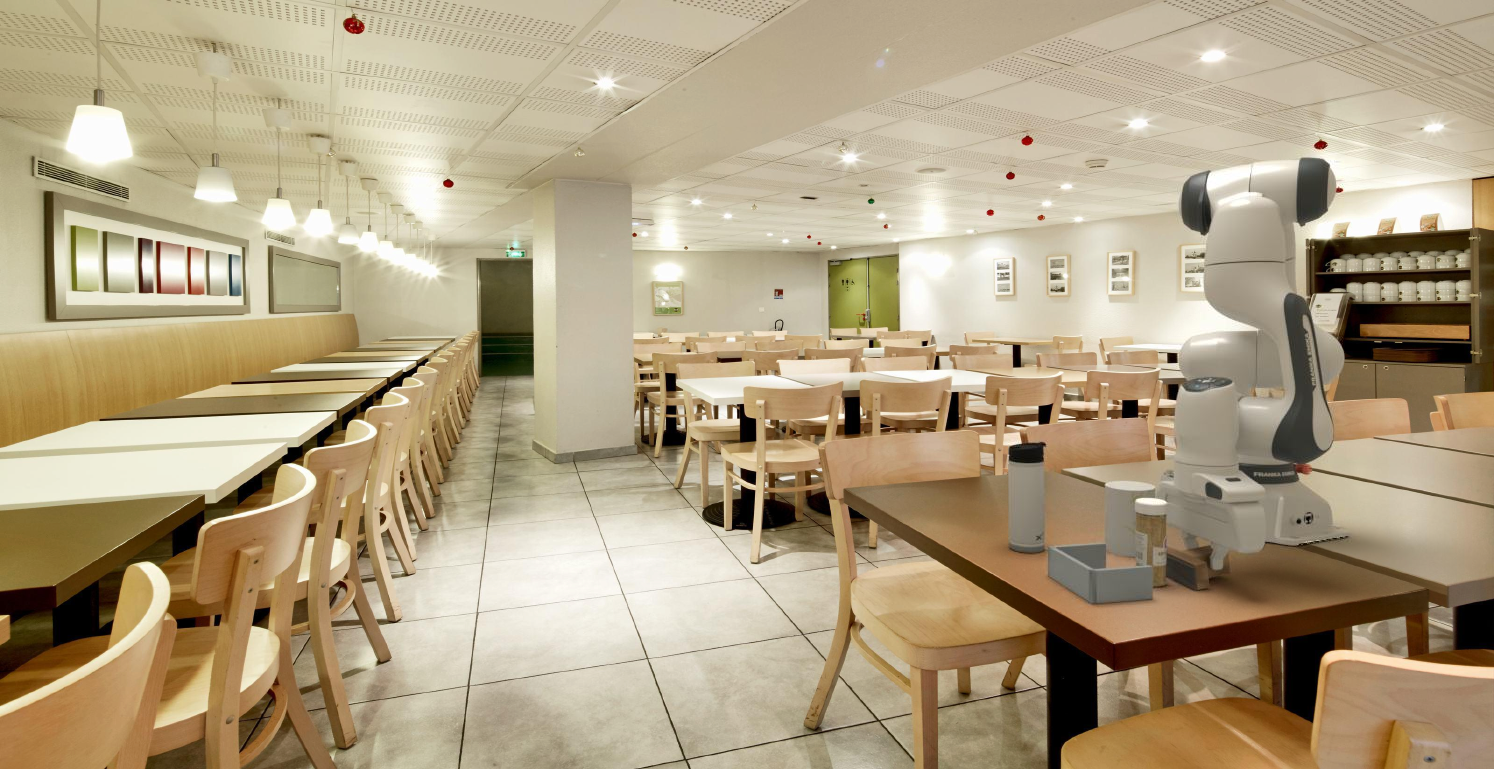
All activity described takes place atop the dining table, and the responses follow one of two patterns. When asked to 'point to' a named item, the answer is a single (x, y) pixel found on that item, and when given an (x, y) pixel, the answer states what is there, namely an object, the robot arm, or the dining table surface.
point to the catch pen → (1098, 574)
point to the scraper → (1193, 566)
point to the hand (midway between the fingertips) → (1204, 563)
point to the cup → (1123, 515)
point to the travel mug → (1026, 497)
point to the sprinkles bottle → (1152, 536)
